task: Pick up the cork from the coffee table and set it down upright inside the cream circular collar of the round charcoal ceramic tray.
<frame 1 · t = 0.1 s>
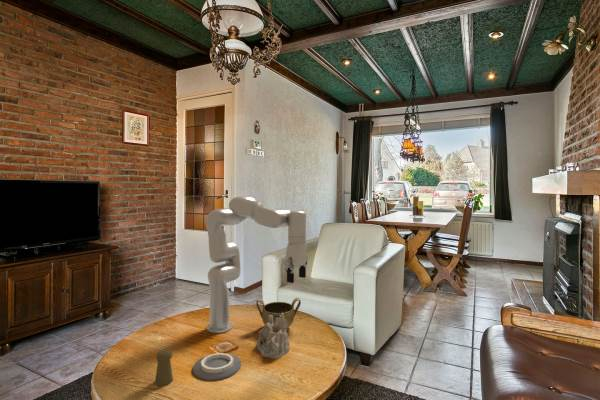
hand: (296, 279, 140), 31 cm above the table, tool pointing down, fingers open, 9 cm apart
ceramic bowl: (278, 328, 165), on the table
cork: (164, 381, 118), on the table
round tray: (217, 367, 128), on the table
ceramic cottage: (271, 348, 144), on the table
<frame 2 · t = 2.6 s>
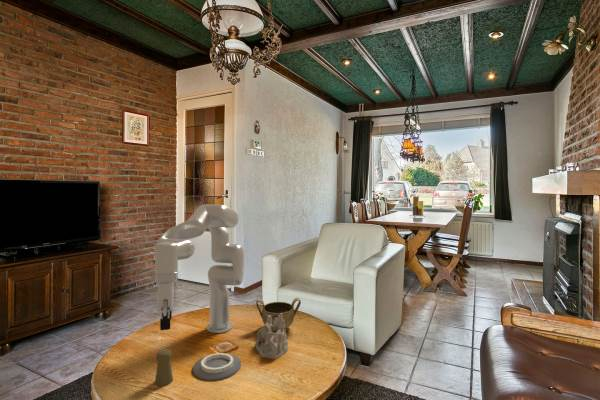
hand: (166, 324, 118), 21 cm above the table, tool pointing down, fingers open, 9 cm apart
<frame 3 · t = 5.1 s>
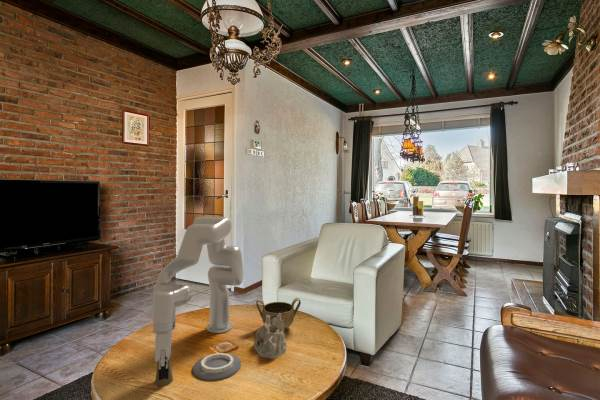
hand: (164, 374, 118), 2 cm above the table, tool pointing down, fingers closed on cork, 4 cm apart
cork: (164, 381, 118), on the table, touching gripper
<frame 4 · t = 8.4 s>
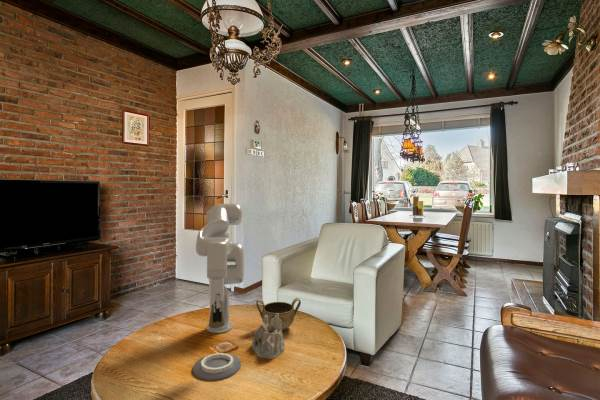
hand: (216, 318, 128), 19 cm above the table, tool pointing down, fingers closed on cork, 4 cm apart
cork: (216, 325, 128), point 16 cm above the table, touching gripper
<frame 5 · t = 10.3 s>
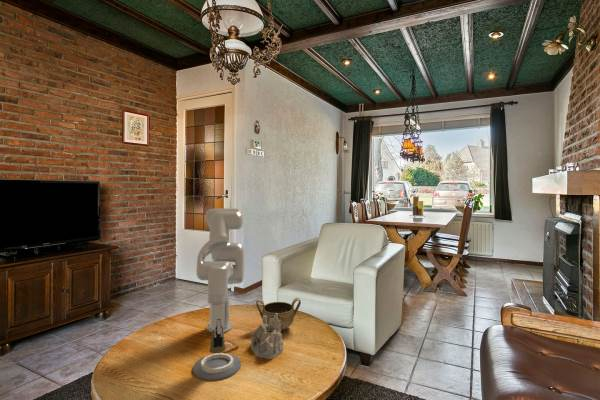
hand: (217, 343, 128), 9 cm above the table, tool pointing down, fingers closed on cork, 4 cm apart
cork: (217, 350, 128), point 7 cm above the table, touching gripper
when the fingers open (4 cm above the table, at t = 11.6 s): cork stays where it is, resting on round tray.
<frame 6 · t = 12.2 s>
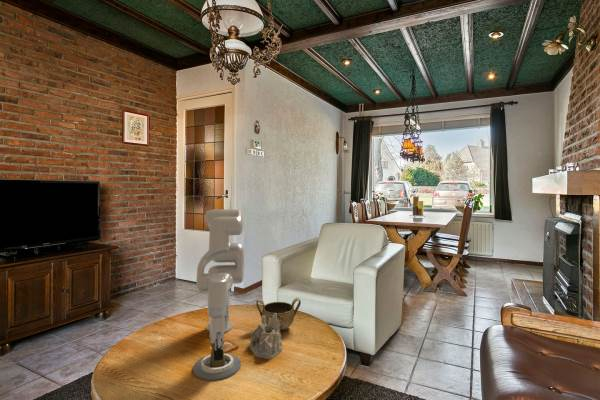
hand: (217, 353, 128), 5 cm above the table, tool pointing down, fingers open, 9 cm apart
cork: (217, 364, 128), point 1 cm above the table, touching round tray
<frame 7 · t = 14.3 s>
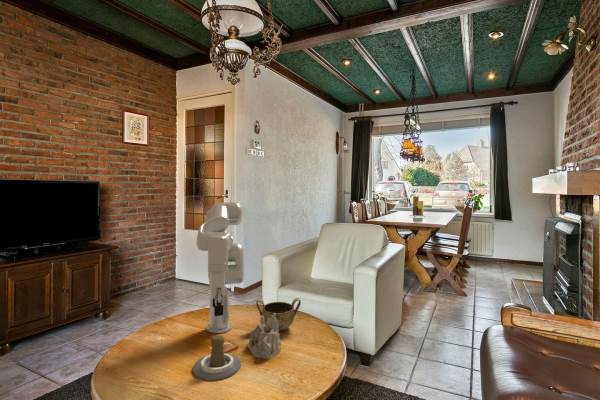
hand: (217, 310, 128), 22 cm above the table, tool pointing down, fingers open, 9 cm apart
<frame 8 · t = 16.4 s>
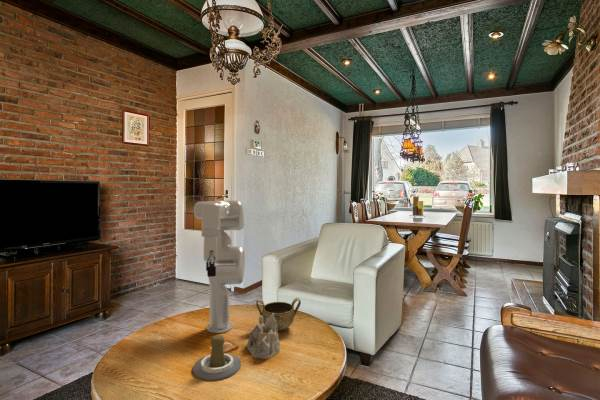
hand: (210, 273, 137), 34 cm above the table, tool pointing down, fingers open, 9 cm apart
at the end: cork 0.2 cm off-centre on the round tray, point 0.8 cm above the round tray's base; cork tilted 0°; the gripper is holding nothing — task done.
